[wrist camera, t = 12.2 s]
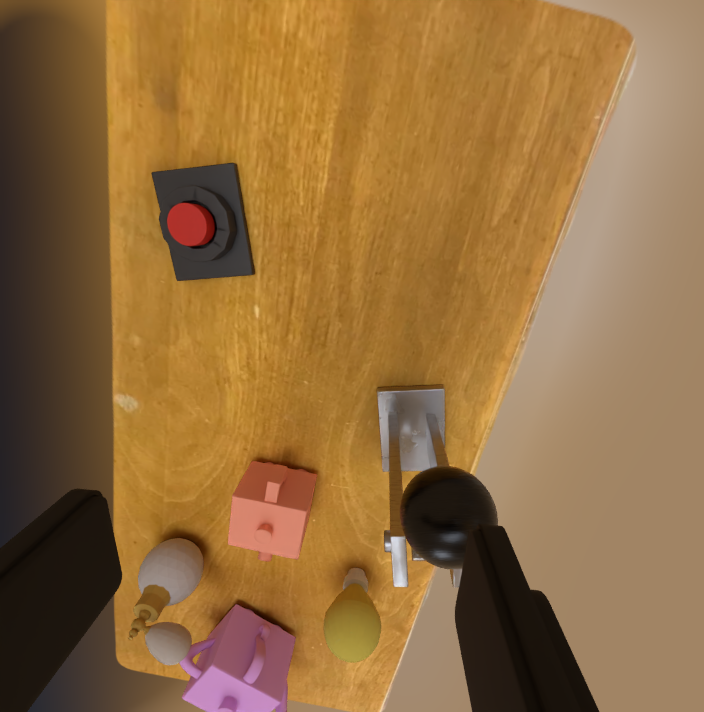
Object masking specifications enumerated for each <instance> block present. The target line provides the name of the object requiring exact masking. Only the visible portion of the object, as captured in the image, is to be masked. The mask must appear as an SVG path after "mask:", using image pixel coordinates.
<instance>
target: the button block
mask: <svg viewBox="0 0 704 712" xmlns="http://www.w3.org/2000/svg"><path fill="white" fill-rule="evenodd" d="M152 177H153V181H154V186H155V190H156V194H157V198H158V203H159V207H160V211H161V212H160V216H159V221H160V225H161V230H162V234H163V238H164V239H165V240H166V242H167V243H168V245H169V249H170V254H171V258H172V262H173V266H174V271H175V275H176V279H177V281H183V280H195V279H208V278H220V277H232V276H245V275H253V274H255V273H254V267H253V261H252V255H251V249H250V243H249V237H248V231H247V225H246V219H245V213H244V207H243V201H242V195H241V189H240V183H239V177H238V171H237V165H236V164H235V163H228V164H219V165H210V166H202V167H193V168H184V169H176V170H167V171H158V172H152ZM179 203H191V204H198V205H201V206H203V207H204V208H206V209H207V210H208V211H209V212H210V214H211V215H212V217H213V219H214V223H215V232H214V235H213V237H212V239H211V240H210V241H209V242H208V243H206V244H204V245H199V246H185V245H182V244H180V243H179V242H177V241H176V240H175V239H174V238H173V237H172V235H171V233H170V231H169V229H168V225H167V218H168V214H169V212H170V210H171V209H172V208H173V207H174V206H175V205H177V204H179Z"/></svg>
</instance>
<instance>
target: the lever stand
mask: <svg viewBox="0 0 704 712" xmlns="http://www.w3.org/2000/svg"><path fill="white" fill-rule="evenodd" d="M377 396H378V410H379V424H380V439H381V453H382V467H383V472H384V471H389V489H390V530H385V531H384V547H385V552H391V554H392V569H393V584H394V587H408V571H407V551H406V537H405V535H404V532H403V530H402V526H401V522H400V504H401V499H402V496H403V488H402V474H401V471H424V470H426V469H429V468H432V467H436V466H449V462H448V459H447V455H446V451H445V389H444V386H443V385H423V386H401V387H379V388H377ZM461 573H462V569H450V574H451V579H452V584H453V587H459V584H460V579H461Z"/></svg>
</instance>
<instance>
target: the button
mask: <svg viewBox="0 0 704 712" xmlns="http://www.w3.org/2000/svg"><path fill="white" fill-rule="evenodd" d="M167 225H168V229H169V231H170V233H171V235H172V237H173V238H174V239H175V240H176V241H177V242H179V243H180V244H182V245H185V246H199V245H204V244H206V243H208V242H209V241H210V240H211V239H212V237H213V235H214V232H215V223H214V219H213V217H212V215H211V214H210V212H209V211H208V210H207V209H206V208H204V207H203V206H201V205H198V204H191V203H179V204H177V205H175V206H174V207H173V208H172V209H171V210H170V212H169V214H168V218H167Z"/></svg>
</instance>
